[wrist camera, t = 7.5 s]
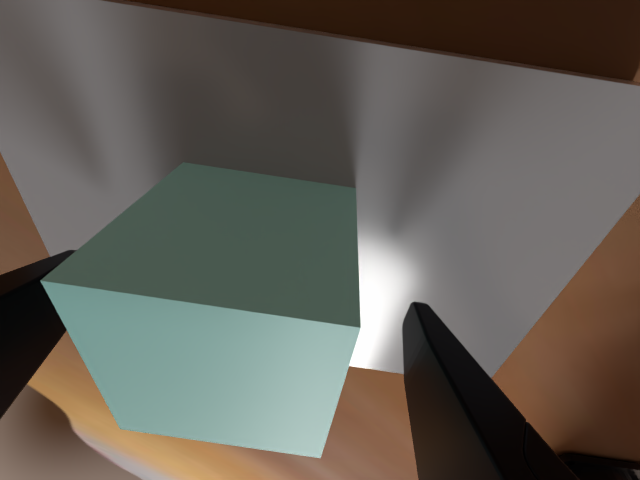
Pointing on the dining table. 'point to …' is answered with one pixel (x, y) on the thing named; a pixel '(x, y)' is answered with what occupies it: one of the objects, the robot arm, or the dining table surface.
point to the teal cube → (220, 308)
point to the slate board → (329, 150)
